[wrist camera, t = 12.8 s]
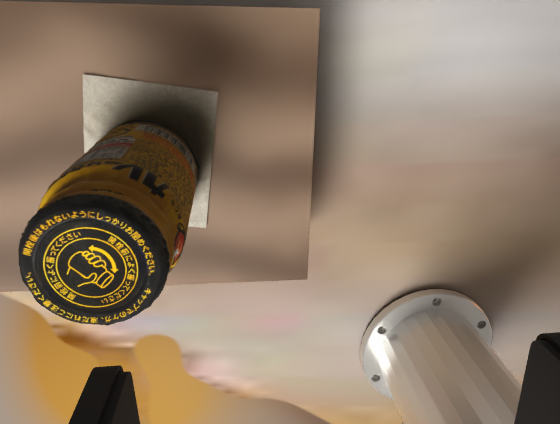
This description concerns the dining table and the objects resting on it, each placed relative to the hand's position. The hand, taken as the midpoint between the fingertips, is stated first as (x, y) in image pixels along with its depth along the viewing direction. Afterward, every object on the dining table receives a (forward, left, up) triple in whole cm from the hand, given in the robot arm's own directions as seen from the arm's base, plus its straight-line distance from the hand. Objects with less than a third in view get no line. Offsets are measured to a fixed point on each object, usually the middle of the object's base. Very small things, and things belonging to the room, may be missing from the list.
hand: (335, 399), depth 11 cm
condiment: (+1, +7, -19) cm, 20 cm away
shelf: (0, +7, -26) cm, 27 cm away
